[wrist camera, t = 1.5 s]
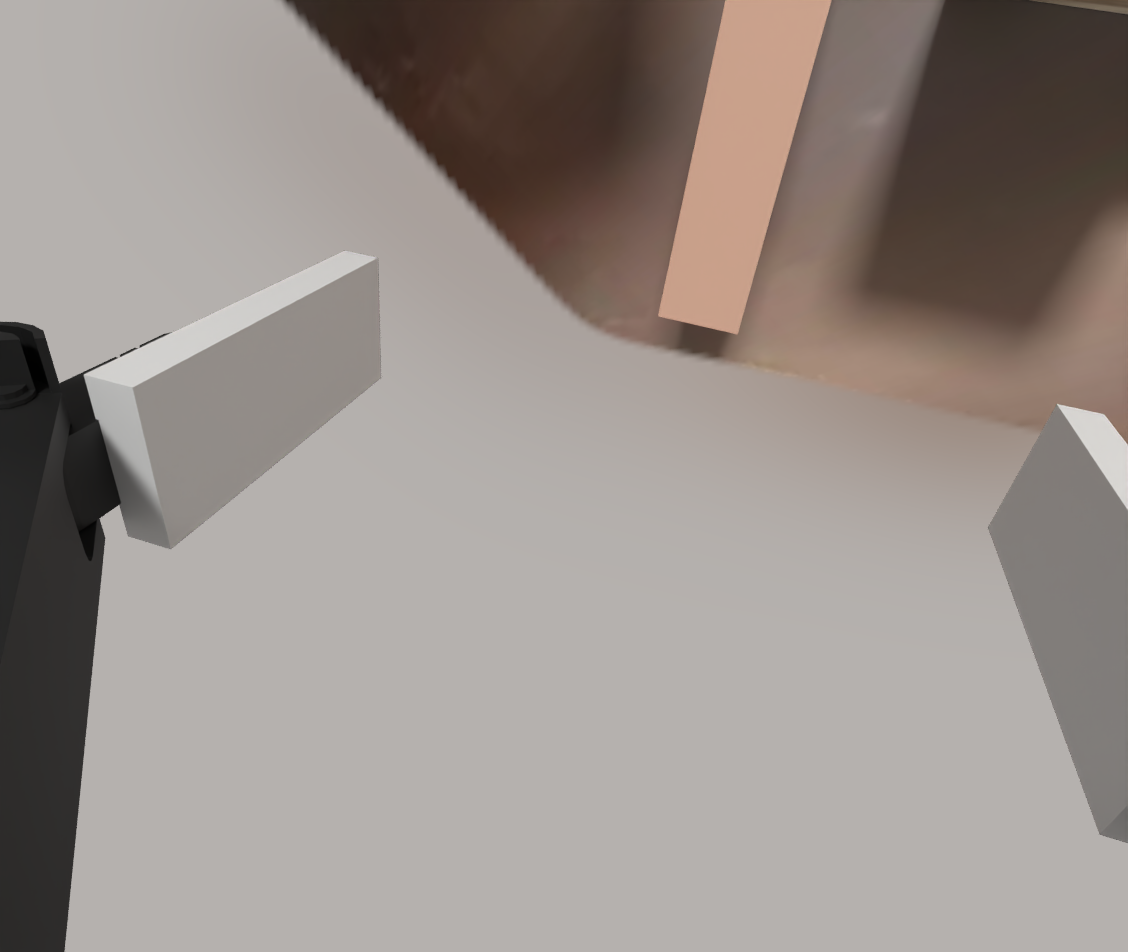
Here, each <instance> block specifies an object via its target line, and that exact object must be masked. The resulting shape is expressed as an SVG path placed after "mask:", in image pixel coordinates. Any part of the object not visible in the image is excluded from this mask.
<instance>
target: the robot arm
mask: <svg viewBox="0 0 1128 952" xmlns="http://www.w3.org/2000/svg"><path fill="white" fill-rule="evenodd" d="M378 276H379V274H378V257H373V256H368V255H363V254H358V253H354V252H349V251H342V252H340V253H338V254H336V255H334V256H332V257H330V258H328V259H326V260H323V261H321V262H320V263H317V264H315V265H313V266H311V267H309V268H307V269H305V270H302V271H300V272H298V273H296V274H294V275H292V276H290V277H288V278H286V279H283V280H282V281H279V282H277V283H275V284H273V285H271V286H269V287H267V288H265V289H262V290H261V291H258V292H256V293H254V294H252V295H250V296H248V297H246V298H243V299H241V300H239V301H237V302H235V303H233V304H231V305H229V306H227V307H225V308H223V309H220V310H218V311H216V312H214V313H212V314H210V315H208V316H206V317H204V318H201V319H199V320H197V321H195V322H193V323H191V324H189V325H187V326H185V327H183V328H180V329H178V330H176V331H174V332H171V333H167V334H163V335H161V336H159V337H157V338H155V339H153V340H151V341H148V342H146V343H144V344H142V345H140V348H139V349H137V348H134V349H131V350H129V351H127V352H125V353H123V354H121V355H120V357H119V358H116V357H115V358H112V359H110V360H108V361H106V362H104V363H102V364H100V365H98V366H96V367H93V368H91V369H89V370H87V371H85V372H83V373H81V374H78V375H77V376H74V377H72V378H70V379H68V380H66V381H64V382H61V383H59V381H58V378H57V375H56V372H55V368H54V365H53V361H52V358H51V355H50V351H49V348H48V345H47V341H46V338H45V335H44V332H43V330H41V329H39V328H37V327H35V326H33V325H28V324H23V323H18V322H0V952H64V950H65V940H66V929H67V920H68V910H69V900H70V889H71V879H72V869H73V858H74V848H75V839H76V828H77V818H78V807H79V798H80V788H81V778H82V768H83V757H84V746H85V737H86V727H87V717H88V706H89V696H90V686H91V676H92V666H93V656H94V646H95V635H96V625H97V616H98V605H99V595H100V585H101V575H102V565H103V554H104V545H105V536H104V532H103V529H102V525H101V522H100V519H99V518H101V517H102V516H104V515H105V514H106V513H108V512H109V511H111V510H112V509H114V508H115V507H116V506H118V505H120V509H121V512H122V516H123V520H124V523H125V527H126V530H127V534H128V536H129V537H133V538H136V539H139V540H143V541H146V542H149V543H152V544H155V545H159V546H162V547H165V548H169V549H172V548H173V547H174V546H175V545H177V544H178V543H179V542H180V541H181V540H183V539H184V538H185V537H186V536H188V535H189V534H190V533H191V532H193V531H194V530H195V529H196V528H197V527H198V526H200V525H201V524H202V523H203V522H205V521H206V520H207V519H209V518H210V517H211V516H212V515H213V514H215V513H216V512H217V511H218V510H220V509H221V508H222V507H223V506H225V505H226V504H227V503H228V502H229V501H230V500H232V499H233V498H234V497H235V496H237V495H238V494H239V493H240V492H242V491H243V490H244V489H245V488H247V487H248V486H249V485H250V484H251V483H253V482H254V481H255V480H256V479H258V478H259V477H260V476H261V475H263V474H264V473H265V472H266V471H267V470H269V469H270V468H271V467H272V466H274V465H275V464H276V463H277V462H278V461H280V460H281V459H282V458H283V457H285V456H286V455H287V454H288V453H289V452H291V451H292V450H293V449H294V448H296V447H297V446H298V445H299V444H301V443H302V442H303V441H304V440H305V439H307V438H308V437H309V436H310V435H311V434H313V433H314V432H315V431H316V430H318V429H319V428H320V427H321V426H323V425H324V424H325V423H326V422H328V421H329V420H330V419H331V418H332V417H334V416H335V415H336V414H337V413H339V412H340V411H341V410H342V409H343V408H345V407H346V406H347V405H348V404H350V403H351V402H352V401H353V400H354V399H356V398H357V397H358V396H359V395H360V394H362V393H363V392H364V391H366V390H367V389H368V388H369V387H370V386H372V385H373V384H374V383H375V382H377V381H378V380H379V379H380V378H381V355H380V314H379V277H378ZM988 529H989V532H990V535H991V537H992V540H993V543H994V546H995V548H996V551H997V554H998V556H999V559H1000V562H1001V565H1002V568H1003V570H1004V573H1005V576H1006V579H1007V581H1008V584H1009V587H1010V589H1011V592H1012V595H1013V597H1014V601H1015V603H1016V606H1017V609H1018V611H1019V614H1020V617H1021V619H1022V622H1023V625H1024V628H1025V631H1026V633H1027V636H1028V639H1029V642H1030V644H1031V647H1032V650H1033V653H1034V655H1035V658H1036V661H1037V663H1038V666H1039V669H1040V672H1041V675H1042V677H1043V680H1044V683H1045V686H1046V688H1047V691H1048V694H1049V697H1050V699H1051V702H1052V705H1053V708H1054V710H1055V713H1056V716H1057V719H1058V721H1059V724H1060V726H1061V729H1062V732H1063V735H1064V738H1065V741H1066V743H1067V746H1068V749H1069V752H1070V754H1071V757H1072V760H1073V763H1074V765H1075V768H1076V771H1077V773H1078V776H1079V779H1080V782H1081V785H1082V787H1083V790H1084V793H1085V795H1086V798H1087V801H1088V804H1089V807H1090V809H1091V812H1092V815H1093V817H1094V820H1095V823H1096V826H1097V828H1098V831H1099V834H1100V835H1103V836H1106V837H1109V838H1113V839H1116V840H1119V841H1122V842H1126V843H1128V445H1127V443H1126V442H1125V441H1124V440H1123V438H1122V437H1121V436H1120V434H1119V433H1118V432H1117V431H1116V429H1115V428H1114V427H1113V425H1112V424H1111V423H1110V421H1109V420H1108V419H1107V418H1106V416H1105V415H1104V414H1100V413H1096V412H1091V411H1086V410H1082V409H1077V408H1072V407H1068V406H1063V405H1059V404H1057V405H1056V407H1055V409H1054V410H1053V412H1052V414H1051V416H1050V417H1049V419H1048V421H1047V423H1046V425H1045V426H1044V428H1043V430H1042V432H1041V434H1040V435H1039V437H1038V439H1037V441H1036V443H1035V444H1034V446H1033V448H1032V450H1031V451H1030V453H1029V455H1028V457H1027V459H1026V461H1025V462H1024V464H1023V466H1022V468H1021V469H1020V471H1019V473H1018V475H1017V476H1016V478H1015V480H1014V482H1013V484H1012V485H1011V487H1010V489H1009V491H1008V493H1007V494H1006V496H1005V498H1004V500H1003V502H1002V503H1001V505H1000V507H999V509H998V510H997V512H996V514H995V516H994V518H993V519H992V521H991V523H990V525H989V526H988Z"/></svg>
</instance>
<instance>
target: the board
mask: <svg viewBox="0 0 1128 952" xmlns="http://www.w3.org/2000/svg"><path fill="white" fill-rule="evenodd" d="M1031 1H1038V2H1045V3H1052V4H1059V5H1066V6H1073V7H1080V8H1087V9H1094V10H1101V11H1108V12H1115V13H1122V14H1128V0H1031Z"/></svg>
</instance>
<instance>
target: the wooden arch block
mask: <svg viewBox="0 0 1128 952" xmlns="http://www.w3.org/2000/svg"><path fill="white" fill-rule="evenodd" d="M830 4H831V0H726V1H725V6H724V10H723V15H722V20H721V24H720V29H719V34H718V38H717V43H716V48H715V52H714V57H713V62H712V66H711V71H710V76H709V80H708V85H707V90H706V94H705V99H704V104H703V109H702V113H701V118H700V123H699V127H698V132H697V137H696V141H695V146H694V151H693V155H692V160H691V165H690V169H689V174H688V179H687V183H686V188H685V193H684V197H683V202H682V207H681V212H680V216H679V221H678V226H677V230H676V235H675V240H674V244H673V249H672V254H671V258H670V263H669V268H668V272H667V277H666V282H665V286H664V291H663V296H662V301H661V305H660V310H659V315H658V316H659V317H664V318H668V319H672V320H677V321H681V322H686V323H690V324H694V325H699V326H703V327H707V328H712V329H716V330H720V331H725V332H729V333H734V334H738V331H739V327H740V324H741V320H742V317H743V313H744V310H745V306H746V302H747V299H748V295H749V292H750V288H751V285H752V281H753V278H754V274H755V270H756V267H757V263H758V260H759V256H760V253H761V249H762V246H763V242H764V238H765V235H766V231H767V228H768V224H769V221H770V217H771V214H772V210H773V206H774V203H775V199H776V196H777V192H778V189H779V185H780V182H781V178H782V174H783V171H784V167H785V164H786V160H787V157H788V153H789V150H790V146H791V142H792V139H793V135H794V132H795V128H796V125H797V121H798V118H799V114H800V111H801V107H802V103H803V100H804V96H805V93H806V89H807V86H808V82H809V79H810V75H811V71H812V68H813V64H814V61H815V57H816V54H817V50H818V47H819V43H820V39H821V36H822V32H823V29H824V25H825V22H826V18H827V15H828V11H829V7H830Z"/></svg>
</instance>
